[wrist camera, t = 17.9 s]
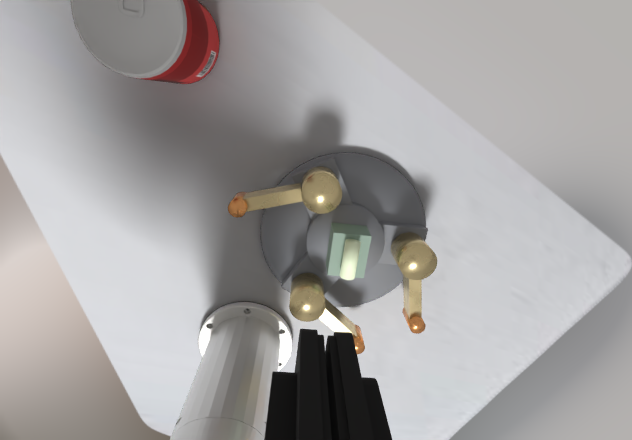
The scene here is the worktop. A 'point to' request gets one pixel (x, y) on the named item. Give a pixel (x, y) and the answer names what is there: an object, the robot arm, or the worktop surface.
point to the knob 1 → (294, 194)
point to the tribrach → (345, 230)
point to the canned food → (149, 37)
